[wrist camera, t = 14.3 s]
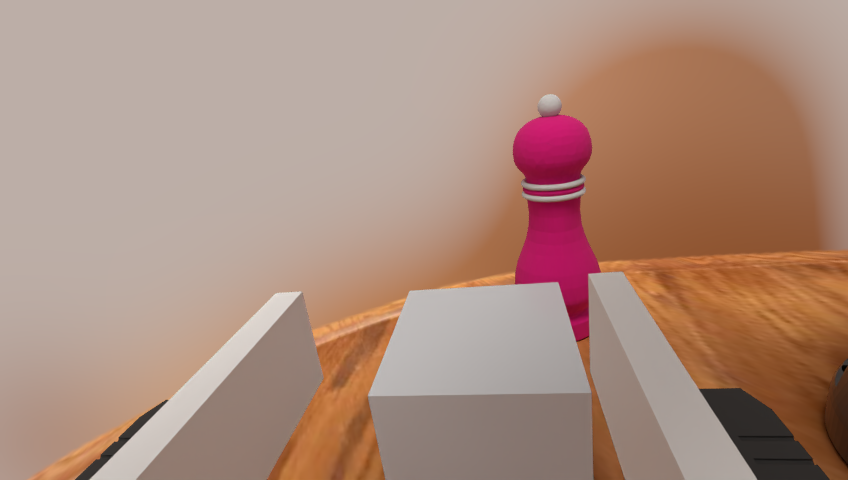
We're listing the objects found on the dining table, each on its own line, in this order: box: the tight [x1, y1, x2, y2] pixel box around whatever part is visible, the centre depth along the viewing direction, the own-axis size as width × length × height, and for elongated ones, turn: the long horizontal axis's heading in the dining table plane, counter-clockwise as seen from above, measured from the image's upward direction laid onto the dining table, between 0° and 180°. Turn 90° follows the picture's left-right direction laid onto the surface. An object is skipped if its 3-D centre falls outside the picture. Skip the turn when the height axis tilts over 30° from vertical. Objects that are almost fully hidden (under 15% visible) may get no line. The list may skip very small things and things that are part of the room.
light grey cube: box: [368, 282, 593, 480], centre depth 24 cm, size 9×10×7 cm
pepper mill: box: [513, 94, 601, 341], centre depth 38 cm, size 7×7×20 cm
